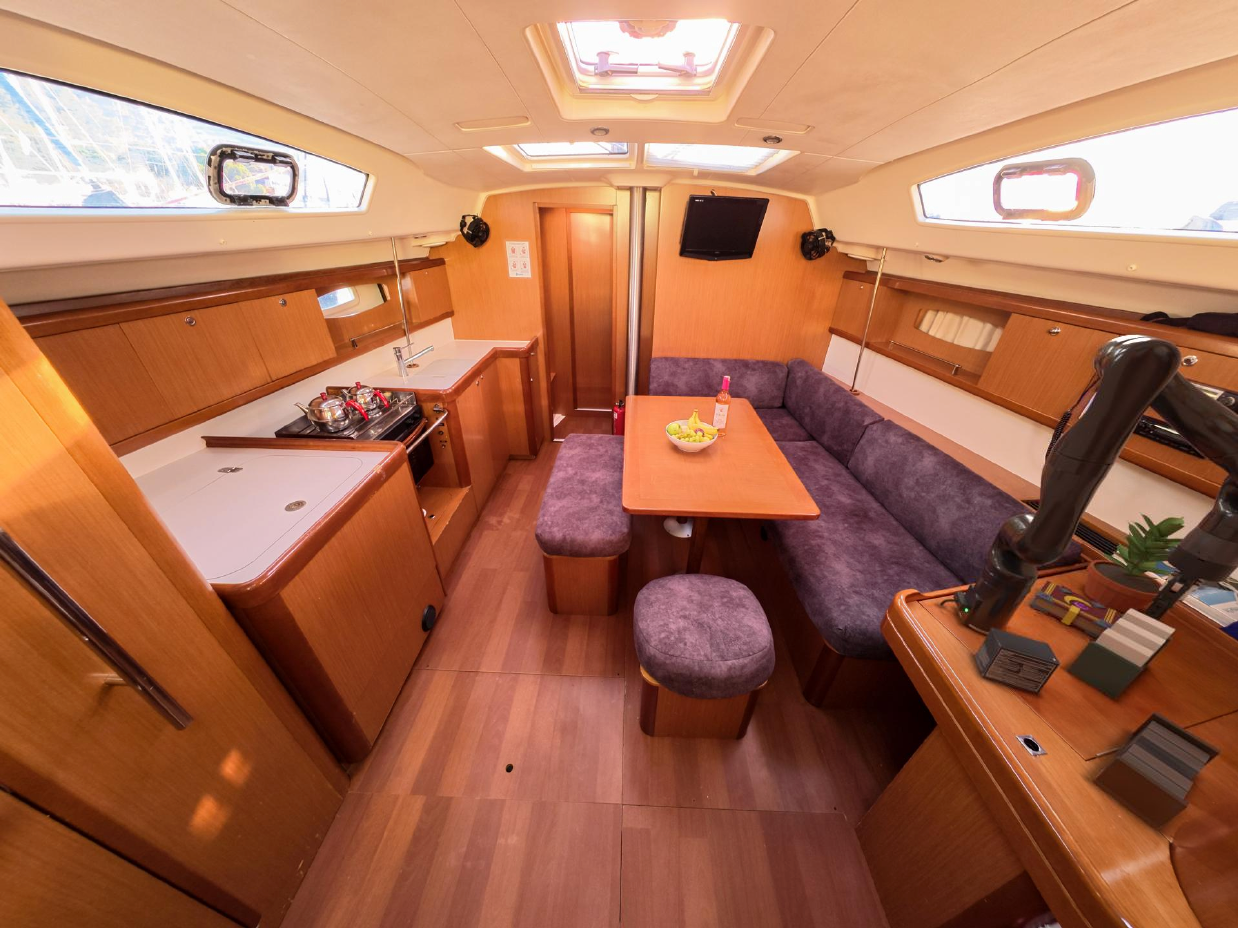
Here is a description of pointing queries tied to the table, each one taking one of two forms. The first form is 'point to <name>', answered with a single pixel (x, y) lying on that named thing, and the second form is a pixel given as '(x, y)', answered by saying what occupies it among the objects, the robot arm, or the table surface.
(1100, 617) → the decorative book
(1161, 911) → the table surface
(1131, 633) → the white book
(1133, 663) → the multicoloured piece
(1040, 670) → the small box
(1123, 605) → the potted plant
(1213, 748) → the grey book rack
